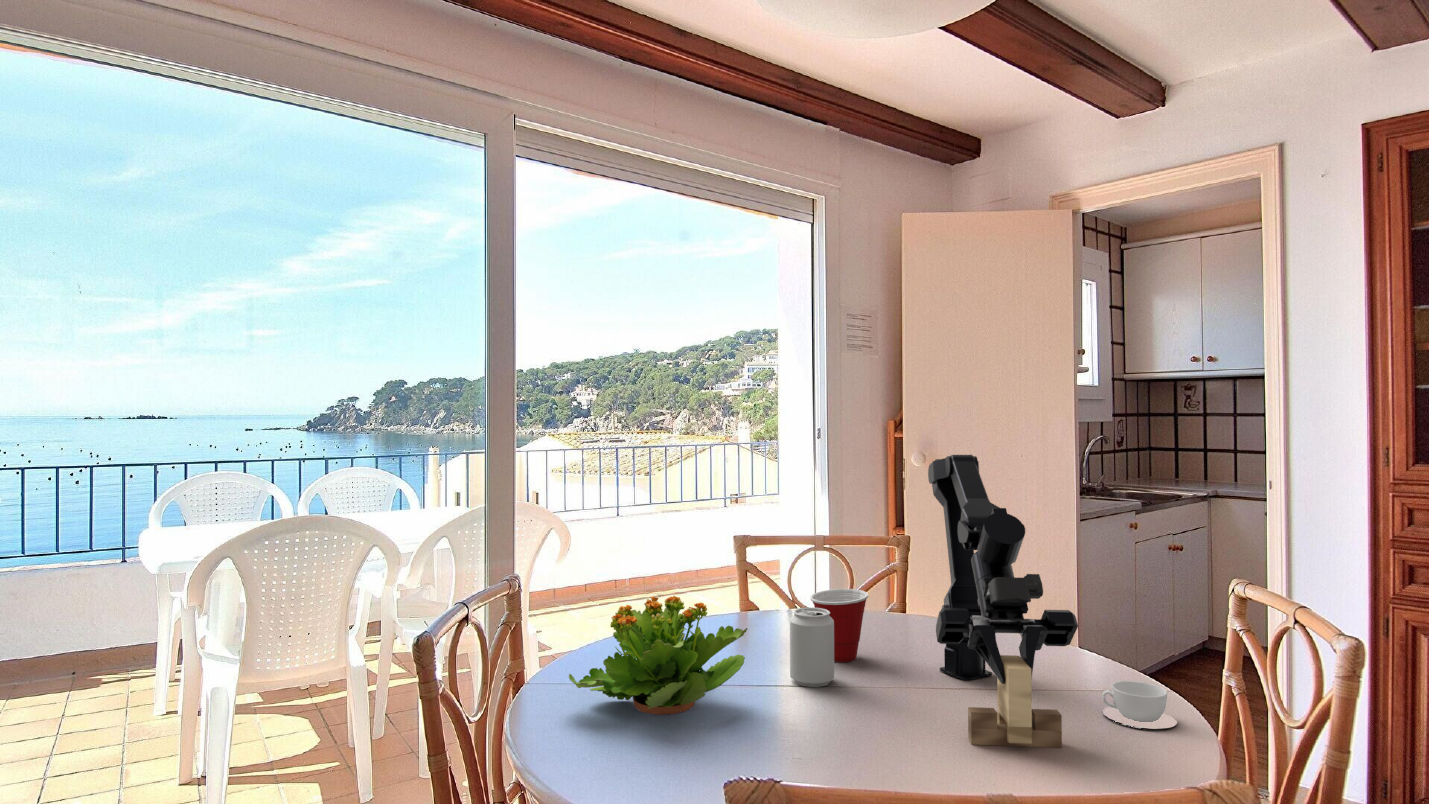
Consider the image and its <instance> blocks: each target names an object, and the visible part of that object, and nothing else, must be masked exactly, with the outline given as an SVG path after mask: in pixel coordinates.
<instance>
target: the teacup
mask: <svg viewBox="0 0 1429 804" xmlns="http://www.w3.org/2000/svg"><path fill="white" fill-rule="evenodd" d="M1168 694H1169V693H1168V691H1167V690H1166V689H1165V688H1164V687H1162V686H1160V685H1157V684H1154V683H1149V682H1145V681H1138V680H1118V681H1115V682H1113V683H1111V690H1109V689H1105V690H1103V691H1102V694H1101V700H1102V701H1103V702H1102V703H1104V705H1106V707H1111V708H1115V709H1118V710H1119V712H1120V713H1121V714H1122V715H1123V716H1124V717H1126V718H1128V719H1132V720H1134V721H1139V722H1153V721H1156V720H1158V719H1159V718H1160V717H1161V715H1162V714H1163V713H1165V711H1166V707H1167V701H1168ZM1106 695H1109V696H1111V698H1112V699H1113V703H1112V702H1108V701H1107V700H1106ZM1102 711H1104V710H1103V709H1102ZM1104 714H1106V713H1104ZM1116 722H1119V721H1115V722H1114V723H1116ZM1121 725H1123V726H1126V725H1131V724H1121ZM1130 728H1135V729H1141V728H1144V727H1133V726H1131V727H1130Z"/></svg>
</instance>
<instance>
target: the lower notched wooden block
mask: <svg viewBox="0 0 1429 804" xmlns="http://www.w3.org/2000/svg"><path fill="white" fill-rule="evenodd" d="M1062 717H1063V716H1062V713H1061V712H1060V711H1059V710H1058V709H1047V708H1046V709H1045V708H1043V709H1042V708H1032V744H1025V743H1009V742H1008V741H1007V724H998V711H997V710H996V708H995V707H979V706H978V707H977V706H976V707H973V706H972V707H971V706H970V707H969V706H967V724H968V725H967V730H968V731H967V732H968V733H967V735H968V737H967V739H968V741H969V743H970V744H971V745H974V746H975V745H977V746H1002V747H1003V746H1004V747H1005V746H1006V747H1007V746H1009V747H1011V746H1012V747H1035V748H1036V747H1037V748H1040V747H1041V748H1063V739H1062V738H1063V732H1062V731H1063V730H1062V729H1063V726H1062V724H1063V723H1062V721H1063V720H1062Z"/></svg>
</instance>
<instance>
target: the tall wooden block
mask: <svg viewBox="0 0 1429 804" xmlns="http://www.w3.org/2000/svg"><path fill="white" fill-rule="evenodd" d="M1000 656H1001V660H1002V663H1003V667H1004V671H1005V678H1006V682H1005V684H1002V683H1001V682H1000V680H999V679H998V678H997V677H996V679H997V686H996V687H997V689H996V691H997V692H996V693H997V696H996V697H997V698H996V699H997V724H1007V741H1008V742H1009V743H1025V744H1032V709H1033V705H1032V704H1033V703H1032V702H1033V700H1032V699H1033V697H1032V690H1033V689H1032V687H1033V686H1032V680H1031V668H1030V667H1029V666H1028V665H1027V664H1026V663H1025V662H1024V661H1023V659H1022V658H1021V656H1020V655H1002V654H1000Z"/></svg>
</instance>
